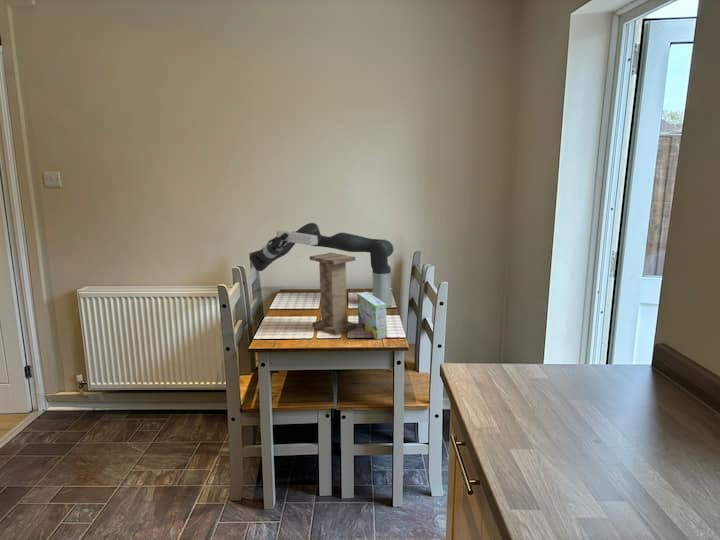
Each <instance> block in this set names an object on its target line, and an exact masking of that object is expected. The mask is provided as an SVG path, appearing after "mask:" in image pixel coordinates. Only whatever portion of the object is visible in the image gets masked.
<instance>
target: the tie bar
mask: <svg viewBox="0 0 720 540" xmlns="http://www.w3.org/2000/svg"><path fill="white" fill-rule="evenodd" d="M275 232H276V237H279V236H281V235H283V234H284V233H287V237H286V238H285V239H284V240H283V241H287V242H293V243H295V244H299V245H305V246H311V245H317V244H318V238H317V235H310V234H303V233H296V231H294V232H293V231H289V230H276V231H275Z"/></svg>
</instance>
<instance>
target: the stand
mask: <svg viewBox="0 0 720 540" xmlns="http://www.w3.org/2000/svg"><path fill="white" fill-rule="evenodd" d="M309 261H313V262H318V263H319V264H318V265H319V266H318V267H319V290H320V291H319V292H320V314H321V315H320V316H321V317H320V320H317V321H313V322H311V323H312V325H311V326H312V327H313V328H315V329H317V330H320V331H324V332H327V333H329V334H332V335H334V336H338V335H340V334H345V333H347V332H349V331H352V330H356V329H357V327H358V326H357V325H358V324H357V323H355V322H351V321H349V320H348V312H347V311H348V308H347V306H348V305H347V275H346V274H347V271H346V268H347V267H346V263H350V262H354V261H355V262H356V257H355V256H353V255H352V256H351V255H346V254H339V253H335V252H327V253H320V254H315V255H311V256H309Z"/></svg>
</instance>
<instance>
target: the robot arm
mask: <svg viewBox="0 0 720 540" xmlns="http://www.w3.org/2000/svg"><path fill="white" fill-rule="evenodd" d="M292 232H296V233H303V234H310V235H317V238H318V244H317V245H311V246H312V247H320V248H329V249H335V250H338V251H343V252H347V253H369V254H370V258H369V259H370V267H371V269H372V295H373V296H374V297H376V298H377V299H379V300H380V301H382V302H383V303H385V304H386V308H387V307H392V301H393V300H392V298H393V297H392V295H393V294H392V292H393V291H392V286H391V285H392V274H391V273H392V267H391V266H390V265H389V262H388V261H389V260H388V257H390V256H392V254H393V253H394V245H393V244H392V242H391V241H389V240H387V239H380V238H379V239H378V238H370V237H369V238H368V237H364V236H361V235H357V234H352V233H347V232H338V233H336V234H333V235H331V236H327V235H323V234H321V231H320V228H319V226H318V224H317V223H314V222H310V223H306V224H305V225H303V226H301V227H300V228H298V229H297V230H296V231H292ZM286 237H287V233H284V234H283V235H281V236H279V237H277V236H275V237H273V238H272V239H270V240H268V242H267V243H265V245H264V247H262V248H261V249H260V250H255V251H253V252H252V253H250V255H249V260H250V261H251V264H252V266H253V267H254V269H255V270H256V271H257V272H262V271H264V270H265V269H266V268H268V267H269V266H270V264H272V263H273V262H274V261H276V260H277V259H279V258H281V257H284V256H285V255H286V254H288V253H289V252H290V251H291V250H292V248H294V246H295V245H296V243H293V242H287V241H283V240H284V239H285V238H286Z"/></svg>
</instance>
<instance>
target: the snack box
mask: <svg viewBox="0 0 720 540" xmlns="http://www.w3.org/2000/svg"><path fill="white" fill-rule="evenodd" d="M356 297H357V298H356V299H357V300H356V301H357V318H358V322H357V323H358V324H357V325H358V326H359V327H360V328H361V329H363V330H364V331H365V332H367V334H369V335H370V336H371V337H372V338H373V340H375V341H377V340H378V341H379V340H383V339H387V338H388V333H387V332H388V330H387V329H388V328H387V326H388V325H387V321H388V320H387V307H386V304H385V303H383V302H382V301H380V300H379V299H377V298H376V297H374V296H373V294H371V293H370V292H369V291H365V292H357V293H356Z"/></svg>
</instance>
